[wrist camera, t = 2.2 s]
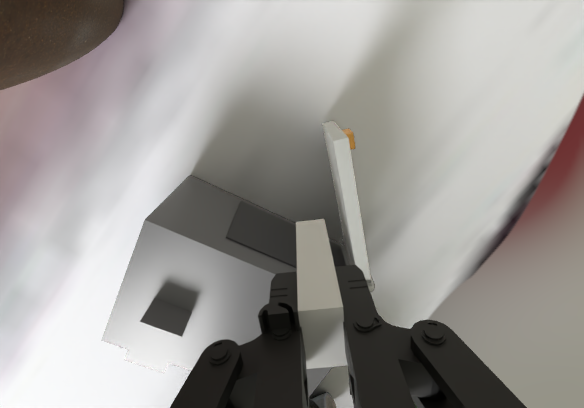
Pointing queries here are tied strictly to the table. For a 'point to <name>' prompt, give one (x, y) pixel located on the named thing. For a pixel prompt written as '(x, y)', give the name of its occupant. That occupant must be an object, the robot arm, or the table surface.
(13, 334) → the table surface
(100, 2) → the plant pot
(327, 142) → the side door
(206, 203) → the block
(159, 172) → the table surface
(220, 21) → the table surface
